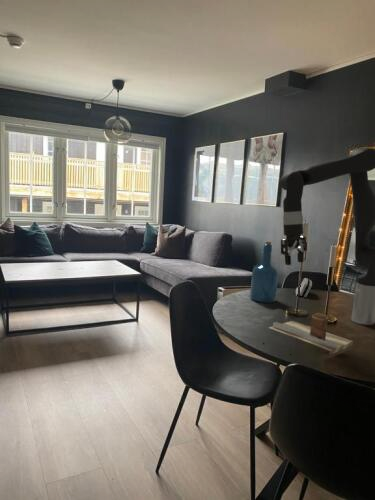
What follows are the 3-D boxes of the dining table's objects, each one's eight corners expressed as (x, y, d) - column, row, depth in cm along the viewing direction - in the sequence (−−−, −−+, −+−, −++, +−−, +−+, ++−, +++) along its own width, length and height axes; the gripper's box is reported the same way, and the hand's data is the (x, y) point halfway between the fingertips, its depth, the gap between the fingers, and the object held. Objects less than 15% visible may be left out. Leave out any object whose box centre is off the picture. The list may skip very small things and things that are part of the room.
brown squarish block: (315, 336, 142) (318, 312, 141) (325, 339, 139) (328, 315, 138) (309, 338, 140) (312, 314, 138) (319, 341, 137) (322, 317, 135)
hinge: (295, 289, 222) (303, 274, 220) (303, 293, 222) (311, 278, 219) (296, 296, 206) (304, 280, 204) (304, 300, 205) (313, 284, 203)
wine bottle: (281, 302, 193) (287, 243, 189) (261, 304, 186) (267, 243, 182) (262, 295, 204) (268, 239, 200) (243, 297, 197) (248, 239, 193)
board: (291, 324, 159) (292, 320, 159) (352, 345, 140) (353, 341, 139) (267, 331, 149) (268, 327, 148) (330, 354, 129) (330, 350, 129)
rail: (275, 326, 150) (275, 321, 150) (334, 347, 132) (335, 342, 132) (272, 327, 149) (273, 321, 149) (332, 348, 131) (333, 343, 130)
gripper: (290, 224, 145) (292, 266, 146) (311, 221, 154) (312, 261, 155) (274, 224, 150) (276, 265, 152) (295, 222, 159) (296, 260, 161)
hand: (294, 263), depth 154 cm, fingers open, 8 cm apart
